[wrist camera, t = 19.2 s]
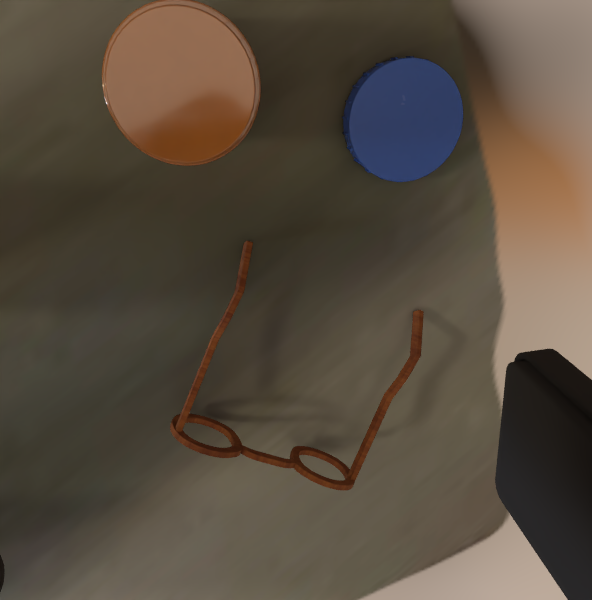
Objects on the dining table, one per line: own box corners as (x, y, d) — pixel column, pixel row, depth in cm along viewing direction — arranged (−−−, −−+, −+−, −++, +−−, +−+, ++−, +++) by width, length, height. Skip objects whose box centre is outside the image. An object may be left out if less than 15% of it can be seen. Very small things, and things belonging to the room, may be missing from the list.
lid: (456, 52, 31) (467, 51, 29) (450, 172, 33) (461, 176, 32) (339, 61, 30) (346, 61, 28) (343, 183, 33) (349, 188, 31)
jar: (213, 158, 31) (216, 199, 22) (112, 101, 29) (68, 119, 20) (266, 59, 29) (293, 57, 20) (162, -8, 27) (139, -45, 18)
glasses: (170, 408, 37) (164, 457, 32) (245, 237, 33) (251, 265, 28) (339, 457, 41) (355, 506, 36) (425, 309, 37) (455, 343, 32)
